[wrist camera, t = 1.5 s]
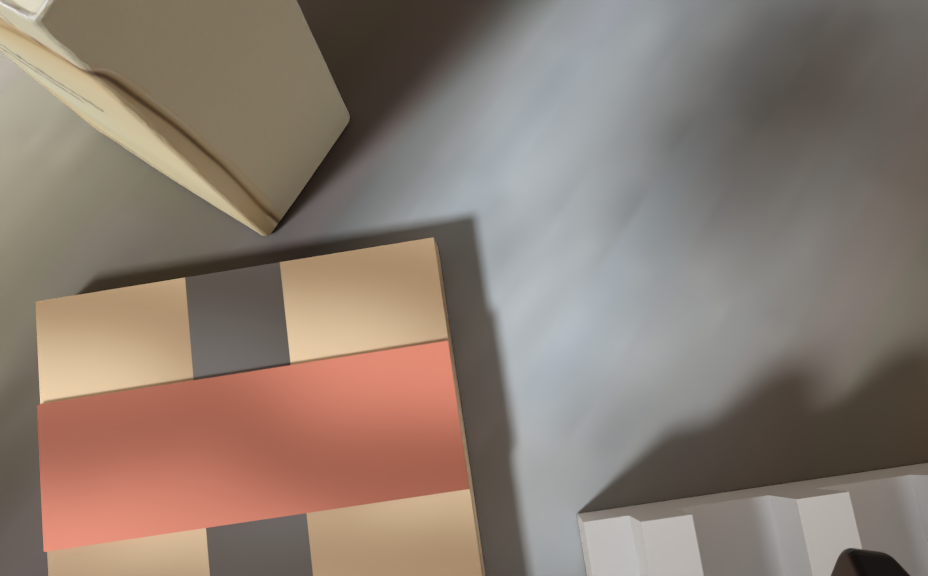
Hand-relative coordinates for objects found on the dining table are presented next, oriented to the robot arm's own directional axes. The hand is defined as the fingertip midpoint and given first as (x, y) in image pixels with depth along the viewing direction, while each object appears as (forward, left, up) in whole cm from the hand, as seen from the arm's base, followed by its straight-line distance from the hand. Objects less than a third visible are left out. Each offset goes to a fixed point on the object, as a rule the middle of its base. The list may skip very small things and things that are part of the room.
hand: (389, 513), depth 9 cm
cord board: (-6, -2, -14) cm, 15 cm away
